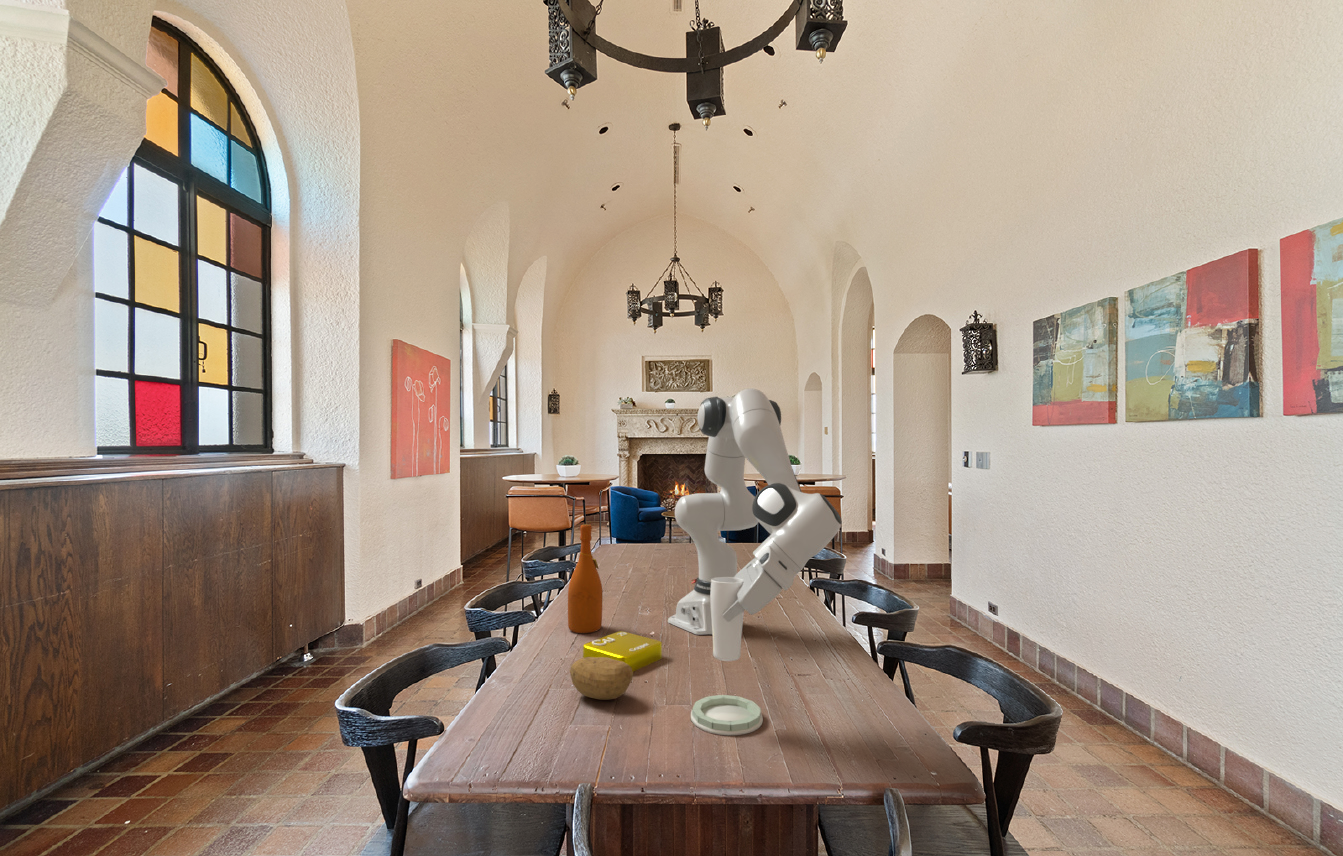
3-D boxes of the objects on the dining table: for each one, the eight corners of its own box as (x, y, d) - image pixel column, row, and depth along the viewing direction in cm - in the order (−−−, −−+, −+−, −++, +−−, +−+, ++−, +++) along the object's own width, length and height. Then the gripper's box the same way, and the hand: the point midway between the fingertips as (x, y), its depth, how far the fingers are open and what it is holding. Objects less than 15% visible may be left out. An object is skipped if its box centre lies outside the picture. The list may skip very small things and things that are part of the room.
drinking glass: (740, 664, 115) (742, 583, 116) (705, 660, 117) (707, 581, 118) (746, 654, 121) (747, 578, 122) (713, 651, 123) (714, 575, 124)
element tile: (624, 677, 141) (625, 656, 141) (579, 662, 150) (579, 642, 150) (665, 659, 153) (665, 639, 153) (620, 646, 162) (620, 628, 162)
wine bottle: (599, 634, 170) (600, 526, 170) (564, 634, 170) (565, 526, 171) (604, 624, 180) (605, 522, 180) (570, 623, 180) (572, 521, 180)
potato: (584, 683, 136) (584, 647, 136) (640, 695, 130) (641, 657, 130) (558, 700, 127) (559, 661, 127) (617, 713, 121) (618, 672, 121)
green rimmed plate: (675, 718, 119) (675, 709, 119) (720, 697, 129) (720, 688, 129) (733, 743, 109) (733, 733, 109) (776, 718, 119) (776, 708, 120)
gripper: (757, 542, 130) (711, 588, 130) (769, 561, 110) (714, 615, 110) (778, 564, 130) (732, 609, 130) (794, 587, 109) (739, 641, 110)
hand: (724, 612), depth 120 cm, fingers closed on drinking glass, 6 cm apart
